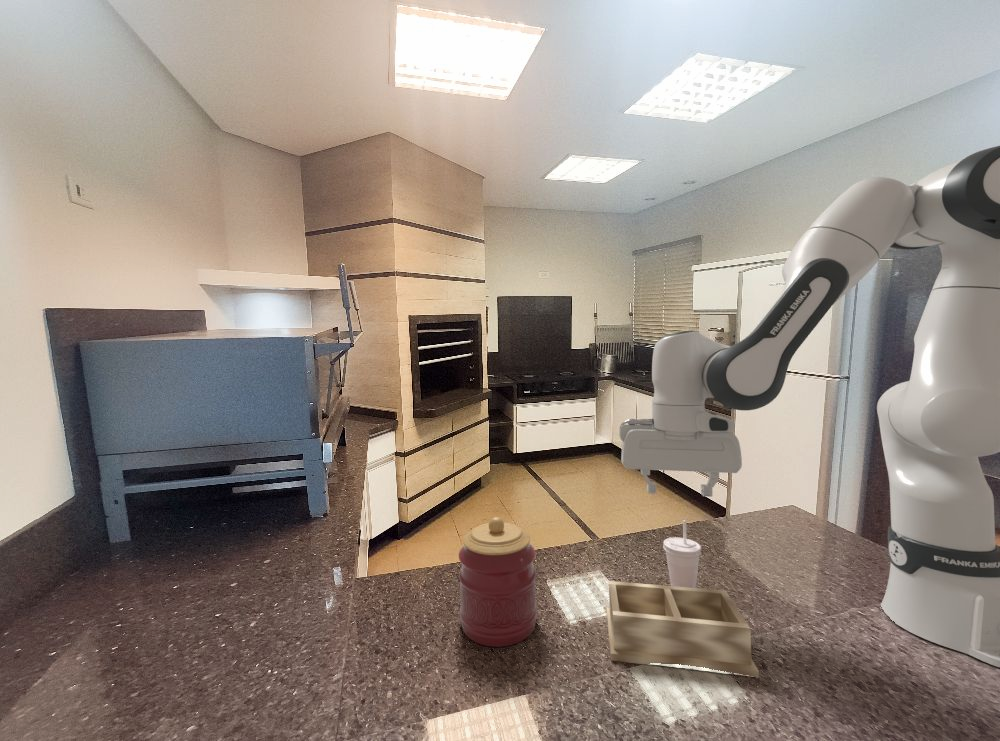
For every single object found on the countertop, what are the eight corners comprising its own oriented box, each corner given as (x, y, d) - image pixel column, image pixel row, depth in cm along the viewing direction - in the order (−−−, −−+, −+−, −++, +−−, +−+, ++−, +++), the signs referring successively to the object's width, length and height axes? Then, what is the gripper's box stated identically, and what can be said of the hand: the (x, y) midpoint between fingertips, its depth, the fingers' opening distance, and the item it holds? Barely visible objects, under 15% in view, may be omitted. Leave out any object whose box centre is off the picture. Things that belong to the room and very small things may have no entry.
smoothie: (707, 608, 68) (705, 528, 69) (668, 605, 70) (666, 526, 70) (697, 588, 75) (694, 515, 75) (661, 586, 76) (659, 513, 76)
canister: (462, 654, 59) (459, 536, 59) (458, 604, 72) (455, 507, 72) (546, 643, 61) (543, 529, 61) (527, 596, 74) (525, 502, 74)
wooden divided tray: (727, 624, 64) (726, 587, 64) (759, 678, 53) (757, 633, 53) (606, 612, 68) (605, 577, 68) (611, 660, 57) (610, 618, 57)
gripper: (621, 420, 72) (621, 496, 72) (745, 422, 67) (746, 503, 67) (618, 416, 78) (618, 486, 78) (731, 418, 74) (732, 491, 73)
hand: (678, 494), depth 72 cm, fingers open, 8 cm apart
